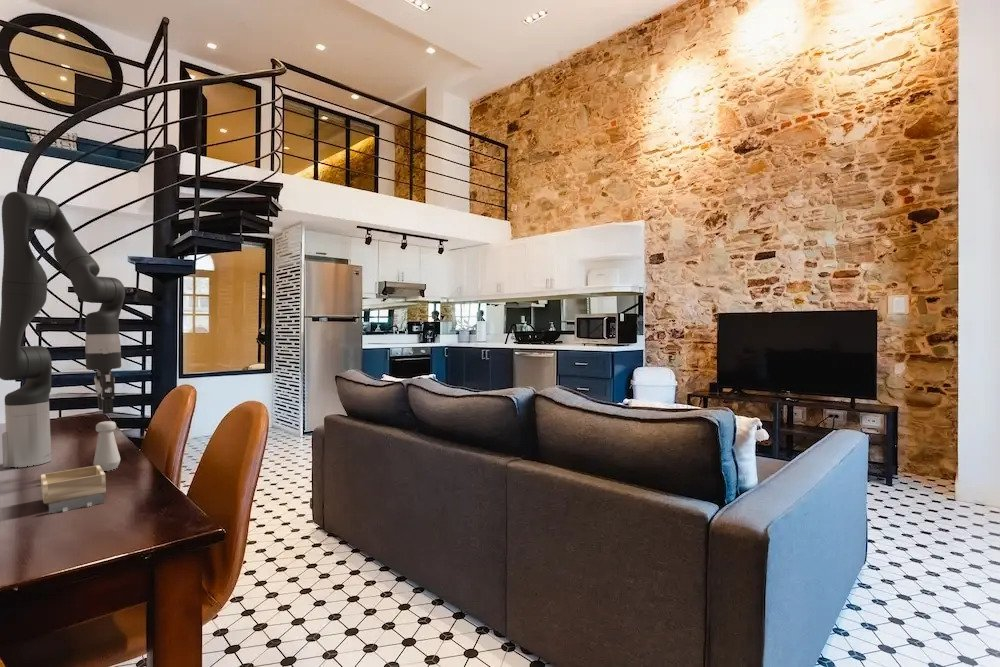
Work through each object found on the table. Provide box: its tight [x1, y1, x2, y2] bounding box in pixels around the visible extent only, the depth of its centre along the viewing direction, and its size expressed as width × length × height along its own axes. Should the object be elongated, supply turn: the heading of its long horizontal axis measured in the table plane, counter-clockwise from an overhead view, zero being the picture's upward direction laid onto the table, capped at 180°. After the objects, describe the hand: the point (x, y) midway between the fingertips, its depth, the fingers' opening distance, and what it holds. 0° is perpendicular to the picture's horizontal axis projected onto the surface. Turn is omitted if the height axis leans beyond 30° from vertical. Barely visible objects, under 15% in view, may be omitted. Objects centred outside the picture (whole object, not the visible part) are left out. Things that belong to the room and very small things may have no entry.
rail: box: [48, 492, 104, 515], centre depth 119 cm, size 28×9×2 cm, turn 44°
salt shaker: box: [93, 420, 121, 472], centre depth 138 cm, size 6×6×13 cm
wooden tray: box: [40, 465, 107, 507], centre depth 115 cm, size 10×10×5 cm
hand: (105, 411), depth 138 cm, fingers open, 8 cm apart
